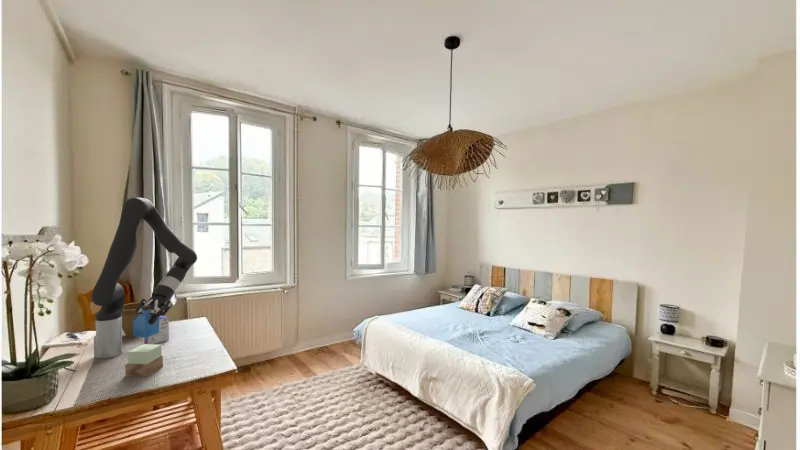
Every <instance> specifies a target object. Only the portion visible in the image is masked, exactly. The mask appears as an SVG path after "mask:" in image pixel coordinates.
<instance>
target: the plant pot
mask: <svg viewBox="0 0 800 450" xmlns="http://www.w3.org/2000/svg"><path fill="white" fill-rule="evenodd" d="M139 303H140V302H131V303H127V304H124V309H123V312H122V332H123V333H124V334H125V336H126V338H135V336H133V321H134V318H135V317H136V315H137V314H138V312H137V311H135V310H136V308H137V307H138V305H139ZM140 309H141V308H140Z"/></svg>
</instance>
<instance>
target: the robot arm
mask: <svg viewBox="0 0 800 450" xmlns="http://www.w3.org/2000/svg"><path fill="white" fill-rule="evenodd" d="M142 220H143V221H145V222H146V224H148V225H149V227H150V228H151V229H152V231H153V234H154V235H155V237H156V239H157V240H158V242H159V243H160V244H161V246H163V248H164V249H165V250H166V251H167V252H169V253H170V254H175V255H176V256H177V258H176V260H175V262H174V263H173V265H172V267H171V268H170V269H169V270H168V271H167V273H166V274H165V275H164V277H163V278H162V279H161V280H160V281H159V282H158V284H157V286H156V287H155V289H154V290H153V291H152V292H151V297H150V298H148V299H145V298H142V299H141V300H140V302H138V303H139V305H138V307H137V308H136V310H135V311H137V312H138V314H137V315H136V317H137V316H138V315H139V314H142V312H141V309H142V306H145V305H151V311H154V312H153V313H154V314H153V315H152V317H151V318H150V320H149V321H148V323H149V324H150V325H152V324H153V323H155V321H156V320H157V318H158V317H160V316H166V314H167V313H168V312H169V310H170V309H171V307H173V304H174V303H172V301H170V300H172V298H173V297H174V295H175V293H176V292H177V290H178V289H179V286H181V283H182V282H183V280H184V279H185V277H186V275H187V272H188V271H189V270H190V268H191V267H192V266H193V265H194V264H195V263H196V262H197V260H198V255H197V253H196V252H195V250H193V249H192V248H191V247H189V246H188V245H187V244H185V243H184V242H183V241H182V240H181V239H180V238H179V236H177V234H176V233H175V232H174V231H173V230H172V229H171V228H170V227H169V225H167V223H166V222H165V221H164V218H162V216H161V215H160V213H159V211H158V209H157V208H156V206H155V205H154V204H153V202H152V201H151V200H149V199H148V198H145V197H130V198H128V199H127V200H126V201H124V203H123V206H122V211H121V214H120V219H119V223H118V227H117V229H116V232H115V235H114V237H113V241H112V242H111V245H110V247H109V249H108V250H109V251H108V254H107V257H106V259H105V262H104V265H103V268H102V270H101V272H100V274H99V277H98V279H97V282H95V285H94V287H93V289H92V292H91V296H90V299H91V301H92V303H93V304H94V305H96V306H100V309H99V310H98V311H97V313H96V314H95V335H94V336H93V357H94V358H97V359H104V360H105V359H111V358H114V357H117V356H120V355H122V353H123V329H122V312H123V309H124V305H125V290H124V287H123V285H121V284H120V283H119V279H120V277H121V276H122V274H123V273H124V271H126V269H127V268H128V266H129V265H130V264H131V262H132V260H133V258H134V256H135V253H136V250H137V247H138V237H137V236H138V235H137V232H138V228H139V224H140V222H141V221H142ZM140 308H141V309H140ZM136 317H135V318H136ZM135 318H134V320H135Z"/></svg>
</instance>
